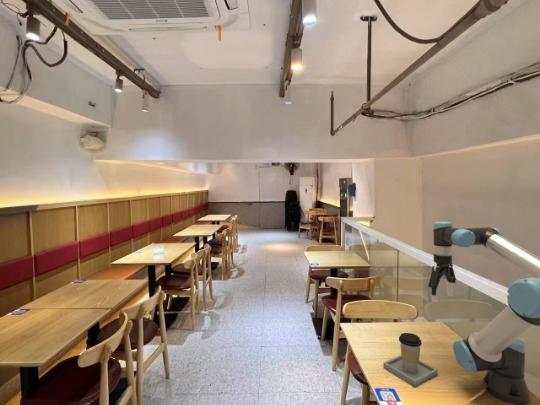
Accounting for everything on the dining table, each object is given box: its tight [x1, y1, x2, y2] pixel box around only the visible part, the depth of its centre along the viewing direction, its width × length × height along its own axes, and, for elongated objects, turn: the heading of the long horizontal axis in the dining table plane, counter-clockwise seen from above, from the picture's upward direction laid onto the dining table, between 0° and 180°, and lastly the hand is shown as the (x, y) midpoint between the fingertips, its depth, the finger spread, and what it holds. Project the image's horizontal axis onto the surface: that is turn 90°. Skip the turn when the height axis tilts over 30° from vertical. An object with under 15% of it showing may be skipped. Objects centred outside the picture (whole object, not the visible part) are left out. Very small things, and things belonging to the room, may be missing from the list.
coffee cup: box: [398, 332, 423, 373], centre depth 135 cm, size 9×9×15 cm
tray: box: [382, 354, 439, 388], centre depth 135 cm, size 16×16×2 cm
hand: (442, 298), depth 141 cm, fingers open, 13 cm apart
